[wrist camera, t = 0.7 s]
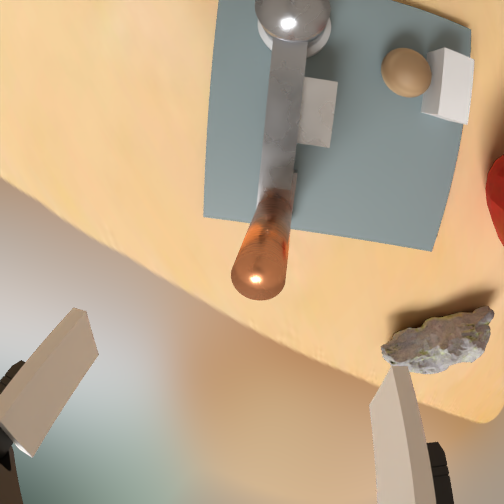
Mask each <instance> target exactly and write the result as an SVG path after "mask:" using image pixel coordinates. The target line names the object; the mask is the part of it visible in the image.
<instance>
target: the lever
mask: <svg viewBox="0 0 504 504" xmlns="http://www.w3.org/2000/svg"><path fill="white" fill-rule="evenodd" d="M255 12H256V16H257V18H258V20H259V22H260V24H261V25H262V27H263V29H264V31H265V33H266V35H267V36H268V38H269V39H270V40H271V41H272V42H273V44H272V55H271V65H270V75H269V85H268V96H267V106H266V116H265V126H264V136H263V147H262V157H261V167H260V176H259V186H258V196H257V206H256V211H255V214H254V216H253V219H252V221H251V223H250V226H249V228H248V231H247V233H246V236H245V238H244V241H243V243H242V246H241V248H240V250H239V253H238V255H237V258H236V260H235V263H234V265H233V268H232V271H231V279H232V283H233V285H234V287H235V288H236V289H237V291H238V292H239V293H241V294H242V295H243V296H245V297H247V298H250V299H253V300H267V299H271V298H273V297H275V296H276V295H278V294H279V293H280V292H281V291H282V289H283V287H284V285H285V279H286V269H287V260H288V250H289V239H290V229H291V218H292V211H293V204H294V196H295V189H296V182H297V174H298V170H294V162H295V154H296V146H297V143H300V144H307V145H314V146H320V147H326V148H330V141H331V134H332V126H333V119H334V111H335V103H336V95H337V86H338V82H334V81H329V80H322V79H316V78H309V77H304V75H305V66H306V56H307V48H310V47H312V46H313V45H315V44H316V43H318V41H319V40H320V39H321V38H322V36H323V34H324V31H325V28H326V25H327V22H328V19H329V16H330V12H331V6H330V2H329V0H255Z"/></svg>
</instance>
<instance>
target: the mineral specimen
mask: <svg viewBox="0 0 504 504" xmlns="http://www.w3.org/2000/svg"><path fill="white" fill-rule="evenodd" d="M493 317H494V311H493V310H491V309H490V308H489V306H483V307H480V308H478V309H476V310H474V312H473V313H466V312H458V313H456V314H452V315H449V316H444V317H431V318H429V319H427V320H425V322H424V323H423V325H422V327H420V328H407V329H405V330H403V331H399V332H397V333H395V334H394V336H393V339H392V340H390V341H389V342H388V343H386V344H384V345H382V346H381V350H382V354H383V358H384V360H386V361H387V362H388V363H390V364H391V365H392V366H408V369H409V372H415V373H421V374H433V373H439V372H442V371H444V370H446V369H448V367H449V366H450V365H453V364H456V363H460V362H471V363H472V362H473V361H475V360H476V359H477V358H479V357H480V356H481V355H482V354H483V353H484V351H485V348H486V345H487V343H488V340H489V337H490V334H491V333H490V327H489V326H488V324H489V323H490V322H491V320H492V319H493Z"/></svg>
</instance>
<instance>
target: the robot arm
mask: <svg viewBox="0 0 504 504" xmlns="http://www.w3.org/2000/svg"><path fill="white" fill-rule="evenodd" d="M98 355H99V354H98V351H97V347H96V344H95V341H94V337H93V334H92V330H91V327H90V323H89V320H88V316H87V312H86V311H83V310H80V309H77V308H73V309H72V310H71V311H70V312H69V313H68V314H67V315H66V317H65V318H64V319H63V320H62V321H61V322H60V323H59V324H58V325H57V326H56V328H55V329H54V330H53V331H52V332H51V333H50V334H49V336H48V337H47V338H46V339H45V340H44V341H43V342H42V344H41V345H40V346H39V347H38V348H37V349H36V351H35V352H34V353H33V354H32V355H31V357H30V358H29V359H28V360H27V361H26V362H24V361H22V360H21V361H19V362H18V363H16V364H15V365H13V366H12V367H11V368H10V369H9V370H8V372H7V373H6V374H5V376H4V377H3V378H2V379H1V380H0V504H23V501H22V497H21V493H20V487H19V483H18V477H17V471H16V466H15V459H14V452H13V449H12V446H11V445H12V444H13V443H14V444H15V445H16V446H17V447H18V448H19V449H20V450H22V451H23V452H25V453H26V454H28V455H29V456H31V457H32V458H33V456H34V455H35V453H36V451H37V450H38V448H39V446H40V444H41V443H42V441H43V439H44V438H45V436H46V434H47V433H48V431H49V430H50V428H51V426H52V424H53V423H54V421H55V420H56V418H57V417H58V415H59V413H60V412H61V411H62V409H63V407H64V406H65V404H66V403H67V401H68V399H69V398H70V397H71V395H72V394H73V392H74V390H75V389H76V387H77V386H78V384H79V383H80V381H81V380H82V378H83V377H84V375H85V374H86V372H87V371H88V370H89V368H90V367H91V365H92V364H93V362H94V361H95V359H96V358H97V356H98ZM369 407H370V416H371V424H372V433H373V444H374V455H375V469H376V484H377V504H454V501H453V494H452V488H451V482H450V477H449V476H448V474H449V471H448V467H447V461H446V457H445V453H444V451H443V449H442V448H441V446H440V444H439V443H438V442H433V443H426V439H425V434H424V429H423V425H422V420H421V416H420V411H419V408H418V403H417V399H416V395H415V391H414V387H413V384H412V380H411V376H410V373H409V369H408V366H391V368H390V370H389V371H388V373H387V375H386V377H385V379H384V381H383V382H382V384H381V386H380V388H379V389H378V391H377V393H376V395H375V396H374V398H373V400H372V401H371V403H370V405H369Z"/></svg>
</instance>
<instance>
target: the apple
mask: <svg viewBox="0 0 504 504" xmlns="http://www.w3.org/2000/svg"><path fill="white" fill-rule="evenodd" d="M485 189H486V199H487V205H488V208H489V211H490V215H491V218H492V221H493V224H494V226H495V229H496V232H497V234H498V237H499V239H500V241H501V242H502V244H503V246H504V155H503V156H501V157H500V158H498V159H497V160H496V161H495V162H494V164H493V166H492V167H491V169H490V171H489V172H488V176H487V183H486V188H485Z"/></svg>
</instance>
